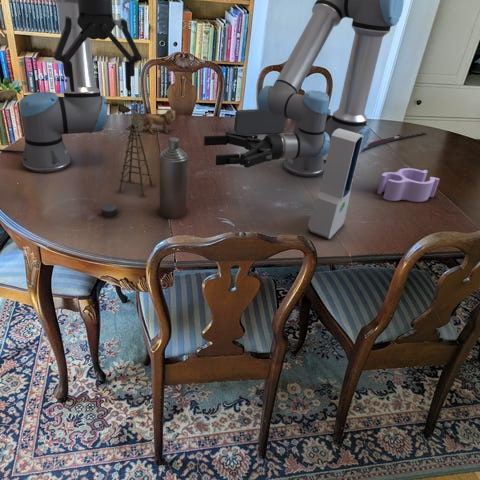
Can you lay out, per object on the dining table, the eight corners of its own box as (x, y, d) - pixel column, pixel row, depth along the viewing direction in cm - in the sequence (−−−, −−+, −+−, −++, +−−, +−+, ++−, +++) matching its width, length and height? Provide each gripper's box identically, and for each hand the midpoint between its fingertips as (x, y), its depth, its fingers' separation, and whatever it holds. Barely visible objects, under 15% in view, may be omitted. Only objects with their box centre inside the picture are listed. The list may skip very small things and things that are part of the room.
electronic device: (328, 241, 134) (351, 142, 118) (305, 232, 137) (324, 134, 121) (344, 224, 143) (367, 130, 127) (322, 215, 146) (342, 123, 130)
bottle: (159, 218, 136) (158, 143, 124) (160, 205, 143) (160, 133, 130) (186, 218, 138) (188, 145, 125) (185, 206, 144) (188, 134, 132)
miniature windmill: (143, 196, 146) (140, 101, 130) (117, 192, 147) (112, 96, 131) (153, 184, 154) (152, 93, 137) (129, 180, 155) (125, 88, 138)
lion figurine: (173, 128, 199) (174, 107, 194) (176, 132, 195) (177, 111, 190) (139, 129, 194) (138, 108, 189) (141, 134, 190) (140, 112, 185)
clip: (390, 204, 157) (396, 186, 154) (370, 187, 167) (375, 170, 163) (438, 200, 164) (444, 182, 160) (416, 184, 173) (422, 167, 170)
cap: (119, 212, 137) (118, 206, 136) (112, 218, 134) (111, 212, 133) (106, 209, 138) (106, 203, 137) (99, 215, 135) (99, 209, 133)
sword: (406, 133, 221) (407, 131, 220) (412, 136, 219) (412, 133, 218) (363, 145, 205) (363, 143, 204) (368, 148, 203) (369, 145, 202)
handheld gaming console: (281, 130, 209) (284, 108, 204) (284, 133, 207) (287, 110, 202) (233, 132, 202) (235, 109, 197) (235, 134, 200) (237, 111, 195)
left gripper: (35, -7, 98) (48, 95, 109) (153, -1, 107) (153, 93, 118) (33, -11, 103) (46, 86, 115) (145, -5, 112) (147, 84, 124)
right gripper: (293, 176, 131) (220, 182, 125) (263, 142, 151) (199, 145, 144) (297, 151, 127) (222, 156, 121) (266, 119, 146) (200, 121, 140)
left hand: (101, 90), depth 117 cm, fingers open, 13 cm apart
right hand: (209, 150), depth 133 cm, fingers open, 13 cm apart
